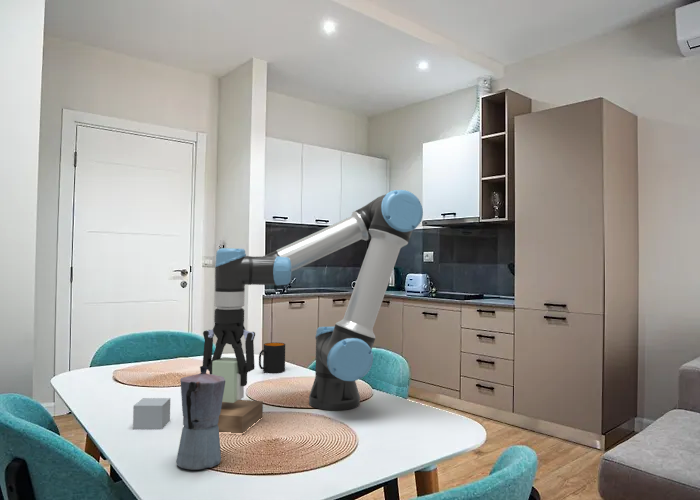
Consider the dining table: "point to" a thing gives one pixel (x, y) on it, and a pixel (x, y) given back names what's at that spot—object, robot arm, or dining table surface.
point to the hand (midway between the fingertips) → (227, 397)
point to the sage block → (227, 376)
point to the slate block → (151, 413)
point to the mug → (273, 358)
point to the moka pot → (200, 420)
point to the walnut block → (239, 415)
